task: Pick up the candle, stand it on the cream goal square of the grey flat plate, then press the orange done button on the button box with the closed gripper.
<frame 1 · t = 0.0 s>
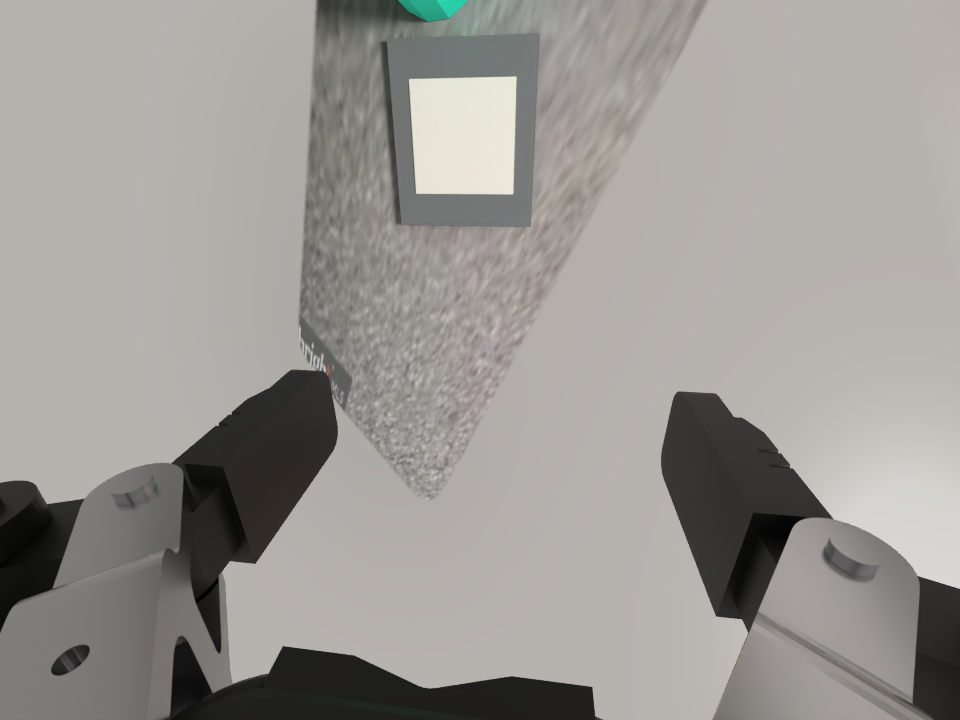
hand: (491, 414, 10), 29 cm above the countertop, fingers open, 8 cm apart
grey flat plate: (464, 139, 34), on the countertop
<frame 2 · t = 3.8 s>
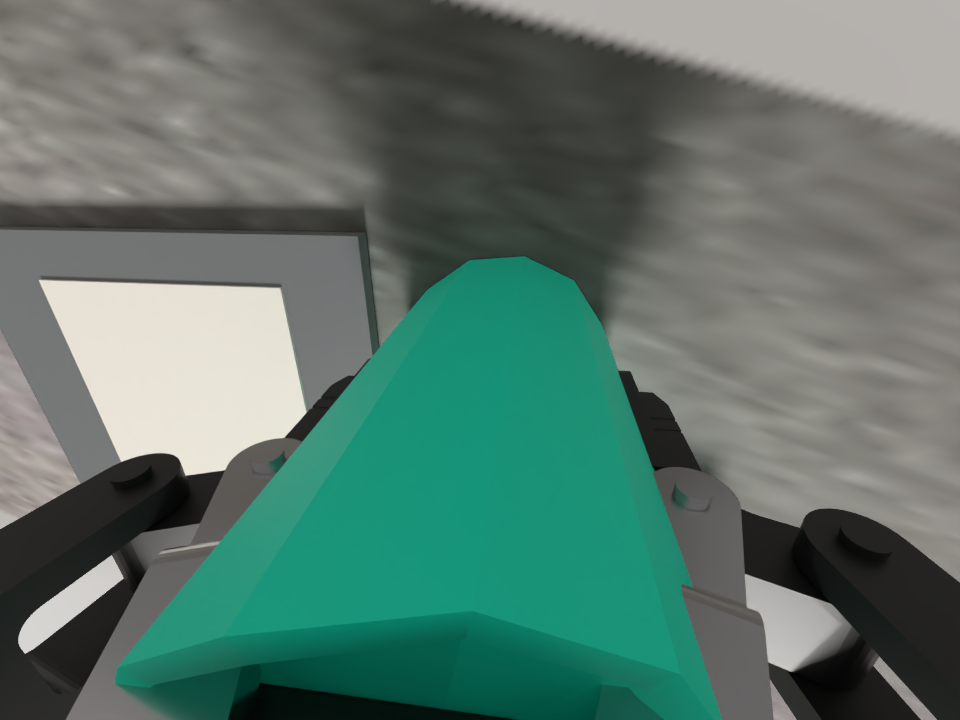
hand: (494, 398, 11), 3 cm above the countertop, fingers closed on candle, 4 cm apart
candle: (504, 349, 13), on the countertop, touching gripper
grey flat plate: (207, 388, 15), on the countertop
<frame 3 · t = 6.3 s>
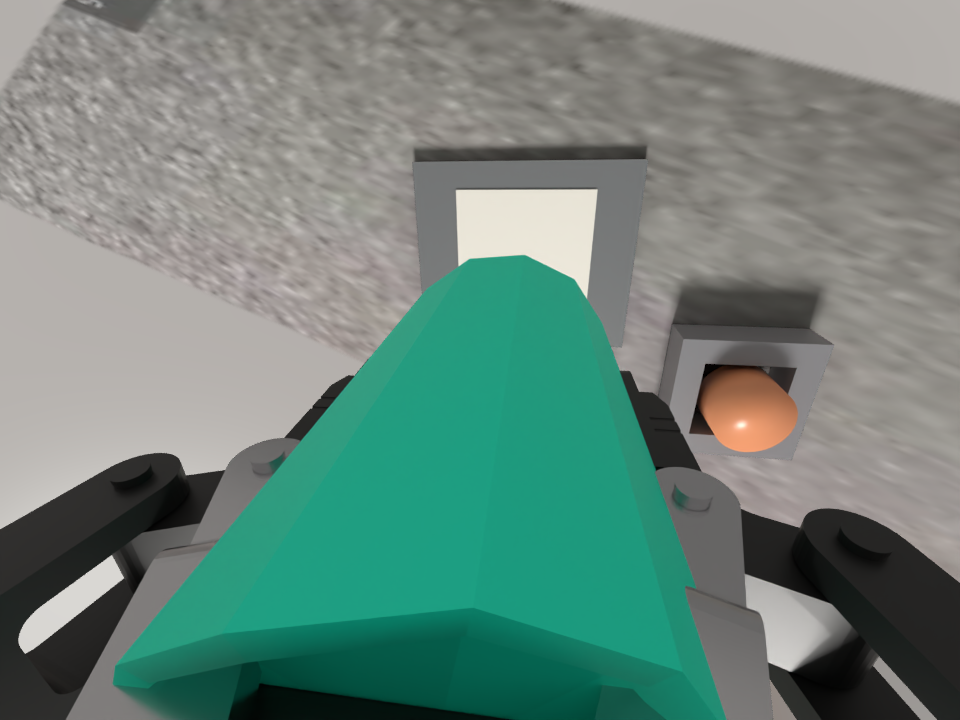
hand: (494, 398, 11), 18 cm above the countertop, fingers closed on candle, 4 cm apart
candle: (504, 348, 13), point 15 cm above the countertop, touching gripper
done button: (743, 406, 26), point 3 cm above the countertop, slide at 0.0 cm
grey flat plate: (523, 257, 27), on the countertop
button box: (724, 382, 29), on the countertop
when the fingers open (5 cm above the countertop, at t = 9.1 s): candle drops 1 cm, resting on grey flat plate.
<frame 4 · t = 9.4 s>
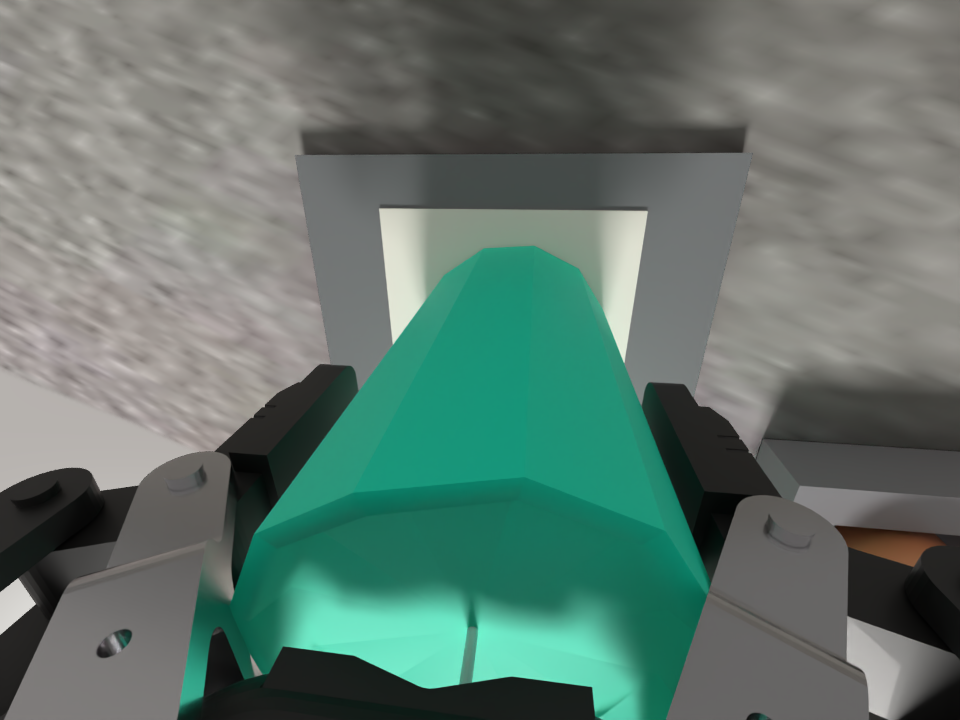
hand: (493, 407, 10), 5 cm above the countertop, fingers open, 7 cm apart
candle: (513, 331, 15), point 1 cm above the countertop, touching grey flat plate
done button: (898, 598, 14), point 3 cm above the countertop, slide at 0.0 cm
grey flat plate: (507, 326, 15), on the countertop
button box: (842, 528, 17), on the countertop
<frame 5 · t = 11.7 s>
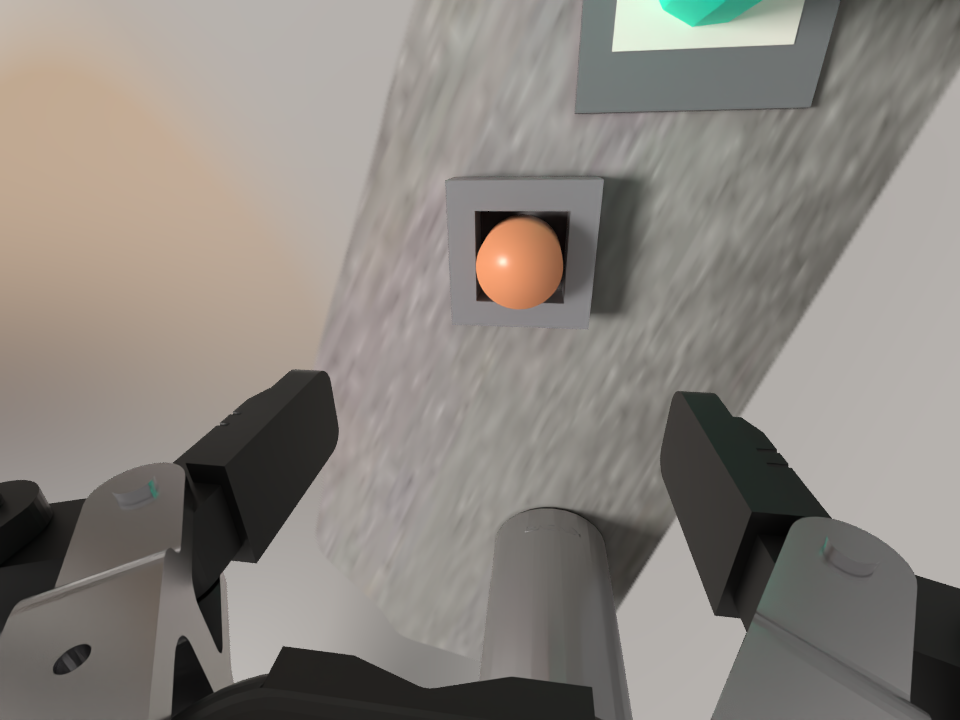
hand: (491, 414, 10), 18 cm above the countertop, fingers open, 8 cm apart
done button: (520, 261, 23), point 3 cm above the countertop, slide at 0.0 cm
button box: (522, 249, 26), on the countertop
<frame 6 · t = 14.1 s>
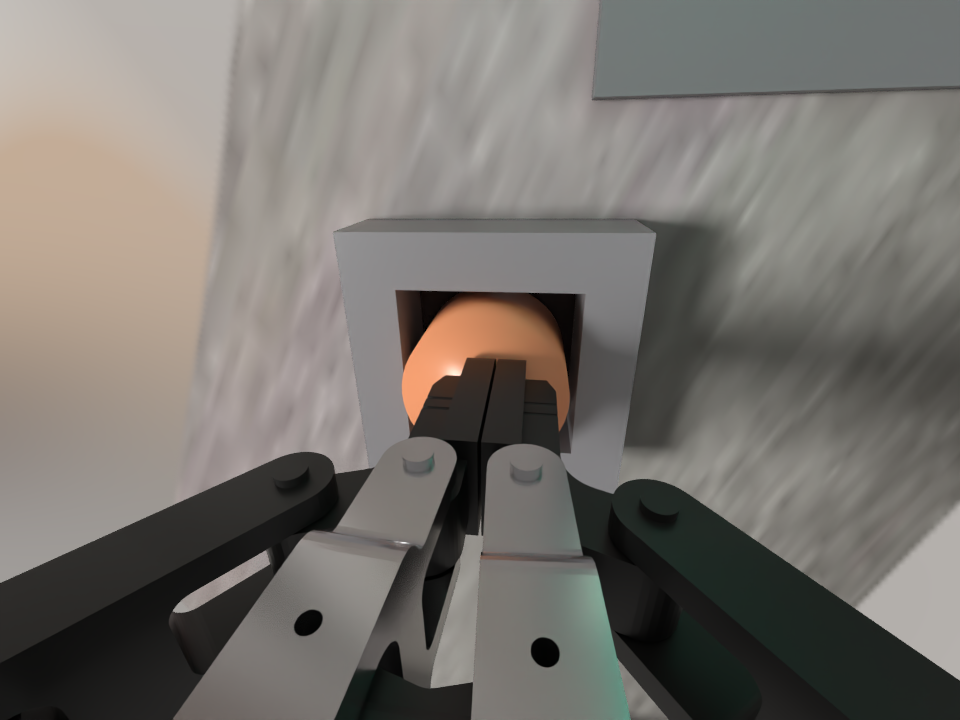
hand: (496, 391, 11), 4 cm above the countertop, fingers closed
done button: (489, 371, 13), point 2 cm above the countertop, slide at 0.8 cm, touching gripper
button box: (496, 342, 15), on the countertop
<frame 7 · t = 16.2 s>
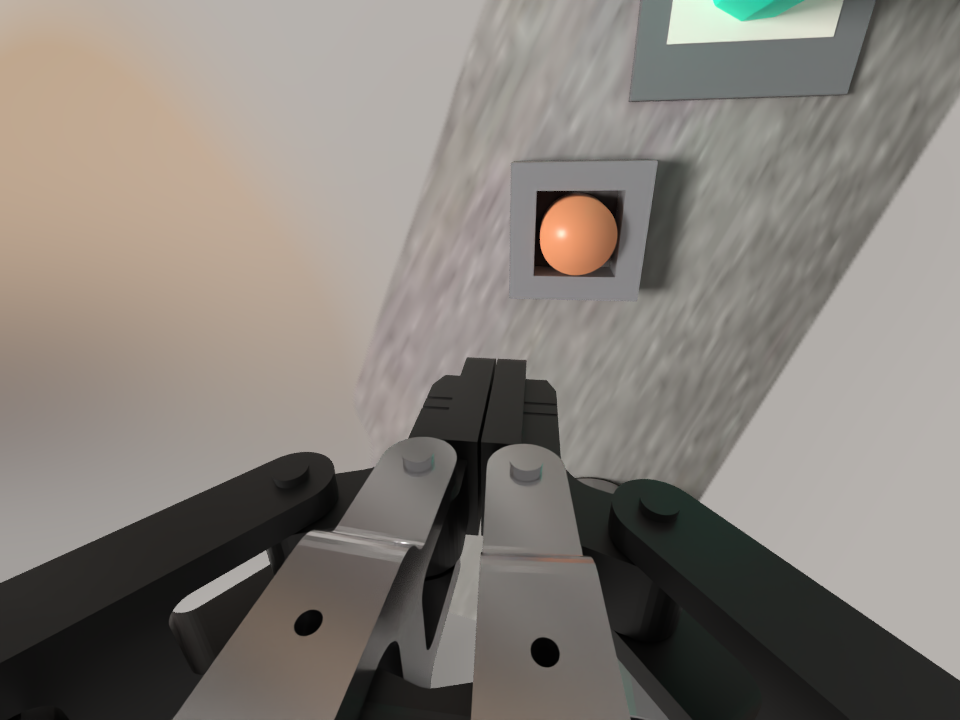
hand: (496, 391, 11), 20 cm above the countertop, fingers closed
done button: (576, 233, 26), point 2 cm above the countertop, slide at 1.2 cm
button box: (574, 228, 28), on the countertop
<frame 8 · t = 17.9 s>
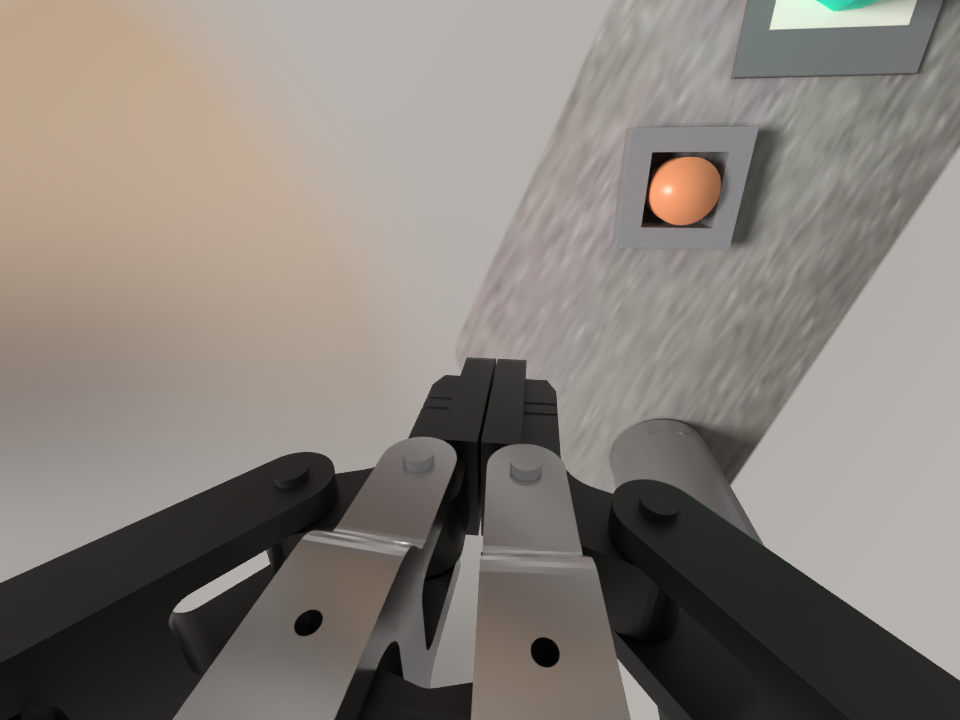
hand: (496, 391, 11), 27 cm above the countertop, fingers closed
done button: (680, 190, 31), point 2 cm above the countertop, slide at 1.2 cm
button box: (673, 188, 33), on the countertop
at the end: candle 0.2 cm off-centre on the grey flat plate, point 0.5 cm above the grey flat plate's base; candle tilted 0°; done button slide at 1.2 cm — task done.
